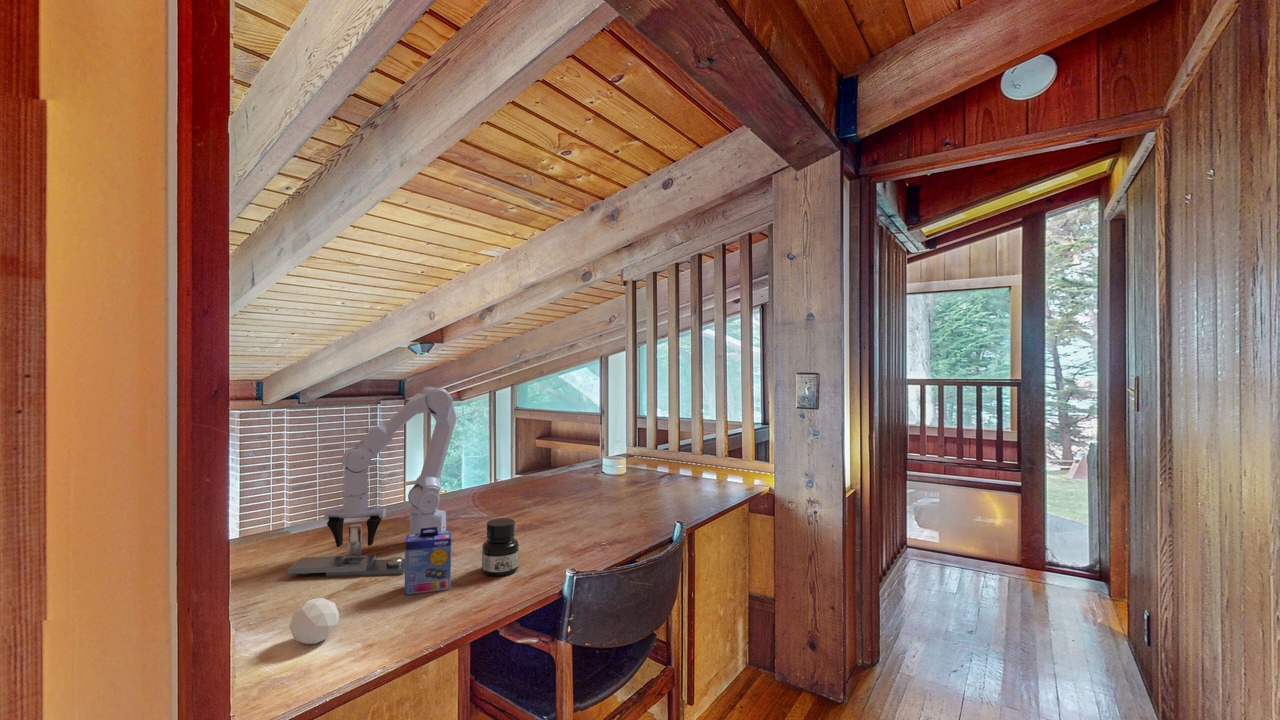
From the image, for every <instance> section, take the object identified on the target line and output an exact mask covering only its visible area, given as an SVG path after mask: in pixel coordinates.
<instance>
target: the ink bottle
mask: <svg viewBox="0 0 1280 720" xmlns="http://www.w3.org/2000/svg"><path fill="white" fill-rule="evenodd" d="M515 523H516V521H515V520H514V519H512V518H508V517H499V518H493V519H490V520H488V521H487V522H486V540H485V541H484V542H483V544H482V546H481V571H482V573H483V574H485V575H486V576H489V577H490V576H491V577H499V576H500V577H502V576H507V575H511V574H513V573H515V572H517V570H518V568H519V558H520V557H519V555H520V553H519V549H520V547H519V544H520V543H519V541H518V540H517V539H516V538H515V537H514V536H515V533H516V532H515V531H516V529H515V526H516V525H515Z"/></svg>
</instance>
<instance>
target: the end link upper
mask: <svg viewBox="0 0 1280 720" xmlns="http://www.w3.org/2000/svg"><path fill="white" fill-rule="evenodd" d="M376 560H377V554H371V555H368V554H367V555H365V554H364V555H361V556H349V555H340V556H339V555H337V556H335V555H334V556H313V557H312V556H311V557H301V558H299V559H298V560H297V561H295V562H294V563H293V564H292V565H290V566H289V567H288V568H287V575H291V574H293V575H294V574H295V575H296V574H298V575H299V576H310V575H313V574H320V573H322V574H323V573H326V572H349V571H366V570H367V569H368V568H369V567H370V566H371V565H372V564H373V563H374V562H375V561H376ZM350 562H360V563H359V564H353V565H344V564H345V563H350Z"/></svg>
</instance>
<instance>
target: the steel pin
mask: <svg viewBox="0 0 1280 720" xmlns="http://www.w3.org/2000/svg"><path fill="white" fill-rule="evenodd" d="M362 527H363V525H362V524H361V523H353V524H350V525H349V526H348V556H362V541H363V540H362V537H363V536H362V535H363V533H362V531H363V530H362Z"/></svg>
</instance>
